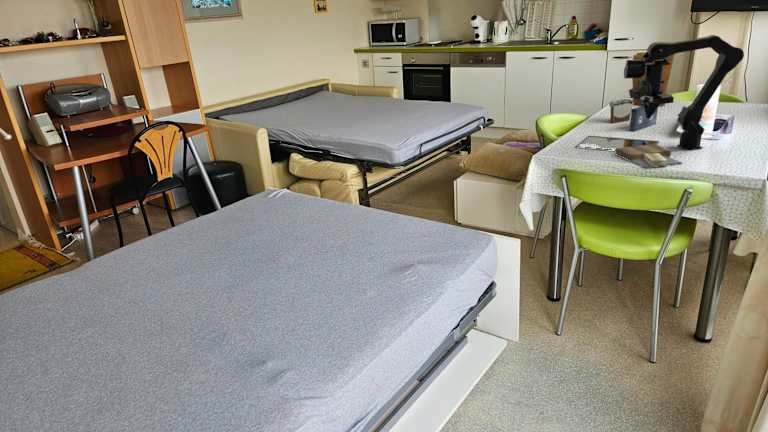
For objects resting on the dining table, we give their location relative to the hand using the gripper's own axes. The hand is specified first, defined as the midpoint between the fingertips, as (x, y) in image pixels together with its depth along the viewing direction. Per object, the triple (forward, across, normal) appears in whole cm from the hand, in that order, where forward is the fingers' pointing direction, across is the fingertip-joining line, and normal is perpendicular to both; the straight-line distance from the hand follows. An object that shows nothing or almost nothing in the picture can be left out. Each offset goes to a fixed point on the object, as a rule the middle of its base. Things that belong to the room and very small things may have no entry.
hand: (648, 118), depth 201 cm
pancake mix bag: (+12, -71, +49) cm, 87 cm away
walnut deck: (+12, +9, -7) cm, 17 cm away
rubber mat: (+12, +18, -8) cm, 23 cm away
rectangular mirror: (+13, -8, -7) cm, 17 cm away
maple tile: (+11, +19, -9) cm, 24 cm away
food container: (+12, -46, +16) cm, 50 cm away
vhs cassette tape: (+12, -30, +19) cm, 38 cm away
